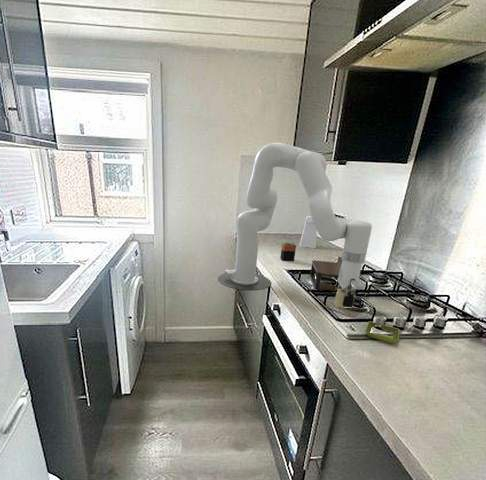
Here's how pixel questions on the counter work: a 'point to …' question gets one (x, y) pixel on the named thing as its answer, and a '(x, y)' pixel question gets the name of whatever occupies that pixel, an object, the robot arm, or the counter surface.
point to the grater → (309, 235)
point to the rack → (325, 273)
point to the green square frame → (383, 337)
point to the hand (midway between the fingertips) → (344, 301)
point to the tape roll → (340, 297)
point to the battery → (288, 251)
